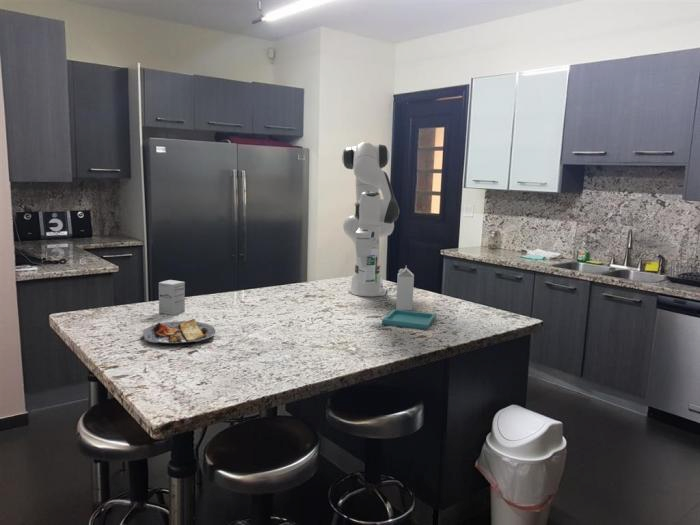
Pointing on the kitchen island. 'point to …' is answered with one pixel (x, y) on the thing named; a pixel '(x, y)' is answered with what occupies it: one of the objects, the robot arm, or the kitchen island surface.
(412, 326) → the tray
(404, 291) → the milk carton
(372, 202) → the robot arm
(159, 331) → the food plate
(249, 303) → the kitchen island surface
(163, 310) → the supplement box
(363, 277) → the syrup box
